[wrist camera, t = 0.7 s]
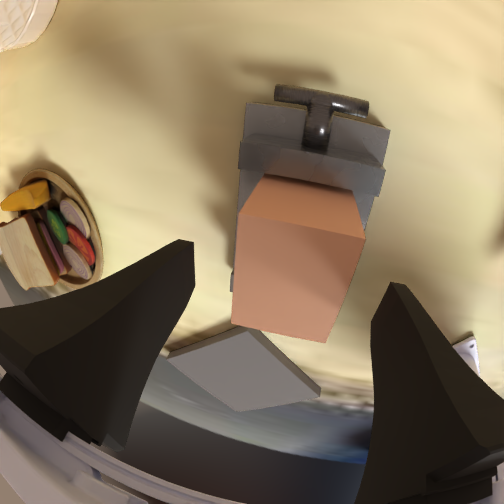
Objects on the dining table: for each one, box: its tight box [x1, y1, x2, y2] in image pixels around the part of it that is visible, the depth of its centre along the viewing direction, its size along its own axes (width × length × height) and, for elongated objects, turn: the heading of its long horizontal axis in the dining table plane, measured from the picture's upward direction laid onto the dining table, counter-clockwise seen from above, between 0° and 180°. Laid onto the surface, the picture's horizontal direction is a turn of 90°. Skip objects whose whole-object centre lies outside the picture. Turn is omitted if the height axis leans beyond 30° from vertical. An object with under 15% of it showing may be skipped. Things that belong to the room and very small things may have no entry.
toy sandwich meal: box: [0, 169, 103, 290], centre depth 20 cm, size 12×14×5 cm
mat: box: [166, 326, 321, 412], centre depth 25 cm, size 11×11×1 cm
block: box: [231, 173, 366, 343], centre depth 12 cm, size 5×4×6 cm
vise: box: [230, 84, 390, 292], centre depth 14 cm, size 12×7×4 cm, turn 175°
